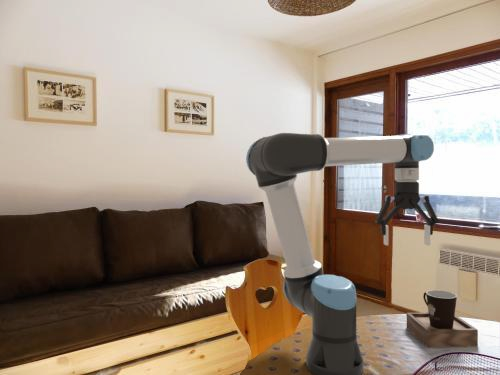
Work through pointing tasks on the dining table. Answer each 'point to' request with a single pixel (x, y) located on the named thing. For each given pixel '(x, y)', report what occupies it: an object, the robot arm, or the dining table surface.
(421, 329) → the wooden tray
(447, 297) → the coffee mug
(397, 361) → the dining table surface
